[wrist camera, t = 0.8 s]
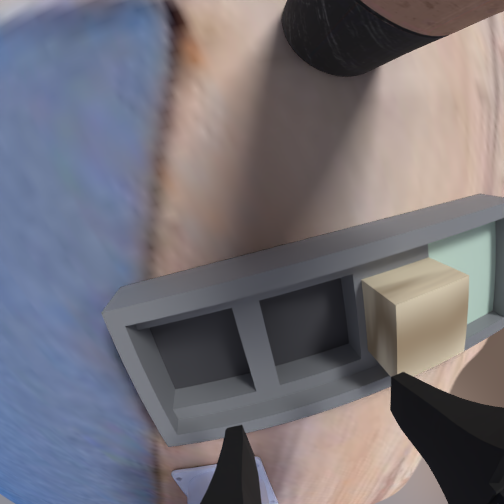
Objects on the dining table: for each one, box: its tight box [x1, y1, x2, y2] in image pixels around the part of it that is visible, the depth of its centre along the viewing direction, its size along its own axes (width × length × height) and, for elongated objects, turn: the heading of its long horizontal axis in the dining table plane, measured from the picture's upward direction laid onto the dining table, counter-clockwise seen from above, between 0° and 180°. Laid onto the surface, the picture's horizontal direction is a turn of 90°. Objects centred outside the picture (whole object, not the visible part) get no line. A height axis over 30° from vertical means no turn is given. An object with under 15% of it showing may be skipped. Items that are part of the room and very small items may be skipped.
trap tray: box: [102, 194, 504, 447], centre depth 19 cm, size 10×27×4 cm, turn 103°
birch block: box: [361, 257, 469, 377], centre depth 17 cm, size 5×5×4 cm
